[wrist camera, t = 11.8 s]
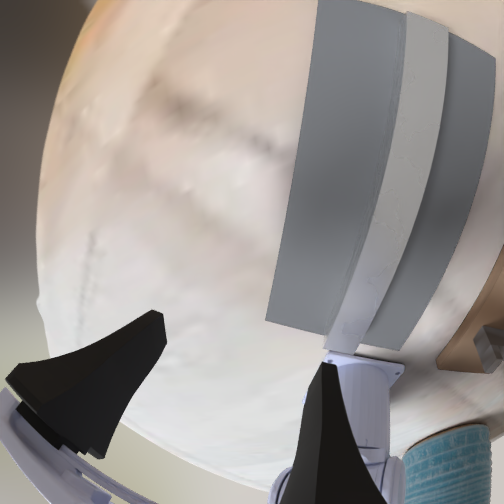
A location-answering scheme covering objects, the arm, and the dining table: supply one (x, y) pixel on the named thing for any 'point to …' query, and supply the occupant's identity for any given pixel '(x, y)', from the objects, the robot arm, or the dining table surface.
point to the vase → (450, 467)
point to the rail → (394, 179)
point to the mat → (373, 171)
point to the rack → (480, 330)
